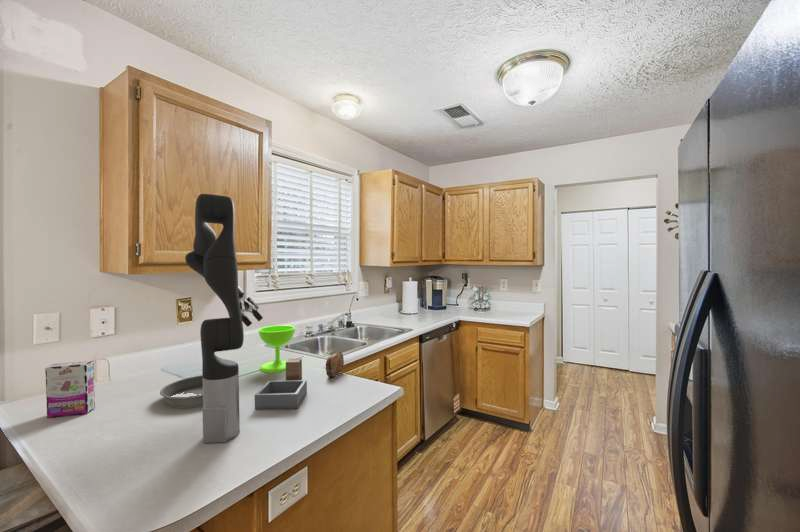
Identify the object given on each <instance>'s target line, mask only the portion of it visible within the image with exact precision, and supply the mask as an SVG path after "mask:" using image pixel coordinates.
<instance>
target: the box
mask: <svg viewBox="0 0 800 532" xmlns="http://www.w3.org/2000/svg"><path fill="white" fill-rule="evenodd" d="M307 381H308V380H307V379H302V380H288V381H286V380H268V381H267V382H266V383H265V384H264V385H263V386H262V387H261V388H260V389H259V390H258V391H257V392H256V393H254V411H266V410H267V411H271V410H273V411H274V410H298V409H299V408H300V405H302V402H303V401H304V400H305V397H306V396H307V394H308V387H307V386H308V385H307V384H308V382H307Z"/></svg>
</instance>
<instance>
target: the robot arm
mask: <svg viewBox="0 0 800 532" xmlns="http://www.w3.org/2000/svg"><path fill="white" fill-rule="evenodd" d="M194 208H195V209H194V230H195V231H194V232H195V236H194V239H193V244H192V248H193V249H192V250H193V251H190V252H188V253H186V255H185V257H184V260H185V264H186V265H187V266H188V267H189V268H190V269H192V270H193V271H194V272H196V273H197V274H199V275H200V276H202V277H203V278H204V281H205V282H206V284H207V285H208V286H209V288H210V289H211V290H212V291H213V293H215V295H217V297H218V298H219V299H220V300H221V302H222V303H223V305H224V306H225V308H226V309H225V310H226V311H227V313H228V317H219V318H208V319H204V320H203V321H202V323H201V324H200V333H199V334H200V345H201V346H200V347H201V348H200V349H201V356H202V357H201V359H202V360H201V361H202V374H201V375H202V378H203V406H202V442H203V444H205V443H206V444H211V443H212V444H213V443H214V444H215V443H226V442H228V441H229V440H231V439H234V438H235V437H237V436H238V435H239V434H240V432H241V431H240V429H241V427H240V425H241V423H240V420H241V419H240V377H239V376H240V375H239V374H240V373H239V370H240V369H239V364H238V362H237V361H234V360H230V359H226V358H223V357H220V356H218V355H216V354H215V353H216V352H217V353H218V352H226V351H233V350H239V349H241V348H242V347H243V345H244V336H245V335H244V333H245V332H244V326H243V325H245V326H246V327H247V328H248V327H250V326H251V325H253V324H252V323H253V322H252V321H251V320H250V318H249V316H247V315H246V313H250V314H252V316H253V317H254V318H255V319H256V320H257V322H260V321H262V320H263V318H264V317H263V316H262V315H261V313H260V311H258V310H259V309H260V307H259V305H258V304H257V303H256V302H255V301H254V300H253V299H252V298H251V297H250V296H248V297H246V298H245V297H244V295H245V292H244V291H243V289H242V288H241V287H240V286H239V274H238V259H237V251H236V242H235V241H236V239H235V204H234V200H233V199H232V198H231V197H230V196H225V195H220V194H219V195H218V194H211V193H201V194H199V195H198V196H197V198H196V201H195V207H194ZM210 224H218V225H222V229H221V231H220V234H218V236H217V235H216V232H215V230H214V229H213V228H212V227H211V226H210Z"/></svg>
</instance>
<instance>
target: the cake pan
mask: <svg viewBox="0 0 800 532" xmlns="http://www.w3.org/2000/svg"><path fill="white" fill-rule="evenodd" d="M183 392H184V393H183ZM181 393H183V394H187V393H194V394H197V395H196V396H189V397H171V396H173V395H176V394H181ZM159 394H160V396H161V397H163V398H164V400H165V403H167V404H168V405H167V404H166V405H167V406H169V407H171V406H173V407H172V408H178V407H188V408H195V407H196V406H197V407H203V406H202V405H203V378H202V374H201V375H197V376H196V375H195V376H191V377H185V378H183V379H180V380H176V381H173V382H171V383H168V384H166V385H165V386H164V387H162V388H161V389H160V392H159ZM199 394H201V395H199Z"/></svg>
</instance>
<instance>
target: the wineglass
mask: <svg viewBox="0 0 800 532" xmlns="http://www.w3.org/2000/svg"><path fill="white" fill-rule="evenodd" d="M295 331H296V327H295V326H294V325H272V326H265V327H261V328H259V329H258V335H259V338H260V340H261V341H263V342H264V343H265V344H266V345H268V346H271V347H275V348H274V349H275V353H274V355H275V357H274V358H275V360H274V361H269V362H266V363H263V364H262V365H261V366H260V367H259V369H260V370H259V372H262V373H268V374H269V373H270V374H277V373H283V372H286V361H287V360H281V356H280V355H281V352H280V351H281V350H280V347H281V346H284V345H286V344H288V343H289V342H290V341H291V340H292V338H293V337H294V335H295Z"/></svg>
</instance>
